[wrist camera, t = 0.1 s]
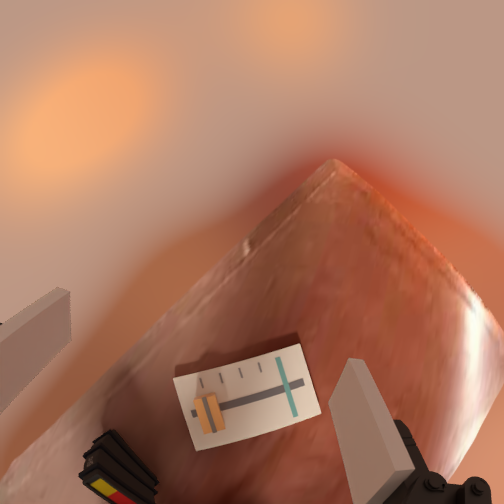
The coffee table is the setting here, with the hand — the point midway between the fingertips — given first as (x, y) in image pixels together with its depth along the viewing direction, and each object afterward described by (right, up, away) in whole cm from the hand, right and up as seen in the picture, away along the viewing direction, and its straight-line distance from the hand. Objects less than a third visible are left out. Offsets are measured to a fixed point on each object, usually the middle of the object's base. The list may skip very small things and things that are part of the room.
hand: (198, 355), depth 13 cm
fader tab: (-4, -19, +28) cm, 34 cm away
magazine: (-16, -29, +26) cm, 42 cm away
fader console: (+2, -18, +32) cm, 36 cm away
